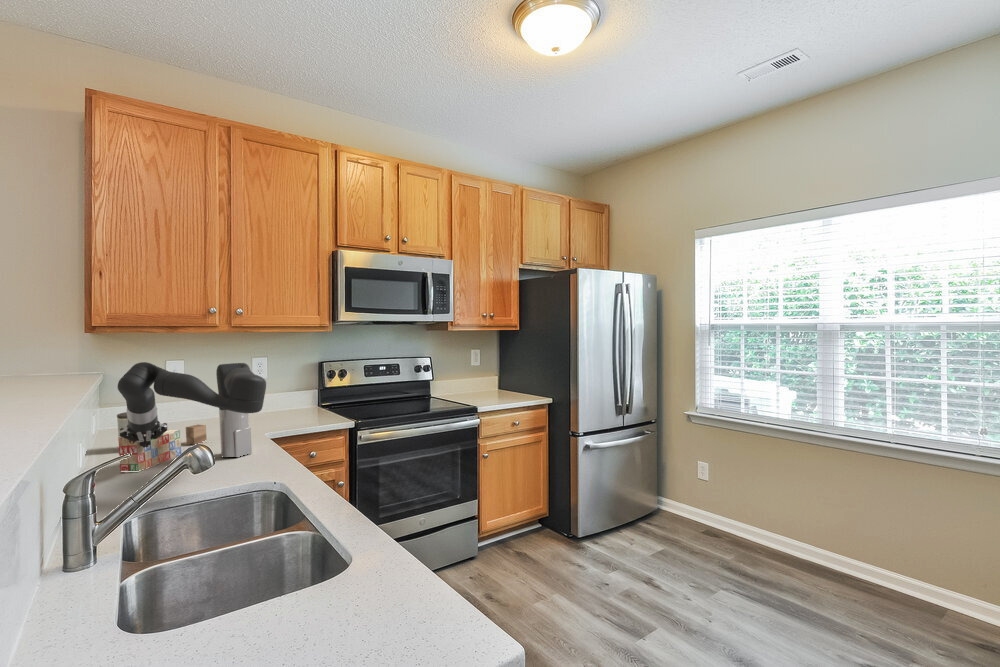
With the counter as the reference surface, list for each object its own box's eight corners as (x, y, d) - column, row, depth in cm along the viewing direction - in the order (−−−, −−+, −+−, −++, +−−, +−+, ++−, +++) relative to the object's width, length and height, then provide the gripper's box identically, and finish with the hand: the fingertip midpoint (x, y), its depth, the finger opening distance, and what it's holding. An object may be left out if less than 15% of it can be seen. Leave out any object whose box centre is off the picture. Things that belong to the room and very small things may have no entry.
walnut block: (206, 442, 199) (205, 425, 199) (194, 445, 194) (193, 427, 194) (198, 441, 201) (198, 424, 201) (186, 444, 197) (185, 427, 196)
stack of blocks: (164, 454, 182) (163, 421, 182) (181, 454, 182) (180, 421, 181) (119, 473, 161) (117, 436, 160) (138, 472, 161) (136, 435, 160)
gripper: (114, 426, 146) (120, 458, 157) (168, 420, 154) (170, 451, 164) (115, 406, 150) (120, 438, 161) (167, 401, 158) (169, 432, 168)
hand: (145, 444), depth 163 cm, fingers closed
